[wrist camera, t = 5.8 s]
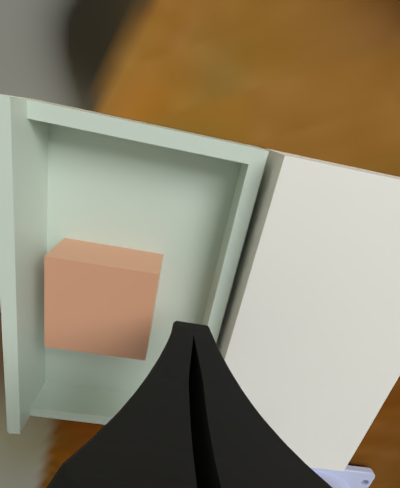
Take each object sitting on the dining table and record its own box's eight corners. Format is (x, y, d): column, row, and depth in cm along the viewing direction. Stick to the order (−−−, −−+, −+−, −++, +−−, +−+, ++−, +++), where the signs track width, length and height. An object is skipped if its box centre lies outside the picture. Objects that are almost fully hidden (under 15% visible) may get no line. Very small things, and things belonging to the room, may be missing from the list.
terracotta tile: (44, 346, 13) (62, 319, 15) (145, 360, 14) (151, 332, 16) (44, 255, 12) (64, 237, 14) (159, 274, 12) (163, 254, 14)
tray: (191, 402, 18) (190, 453, 15) (37, 382, 17) (7, 433, 14) (258, 146, 13) (275, 153, 10) (37, 99, 12) (-11, 92, 9)
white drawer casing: (321, 419, 19) (343, 471, 16) (196, 403, 18) (196, 454, 15) (437, 184, 13) (501, 201, 11) (265, 148, 13) (284, 155, 10)
